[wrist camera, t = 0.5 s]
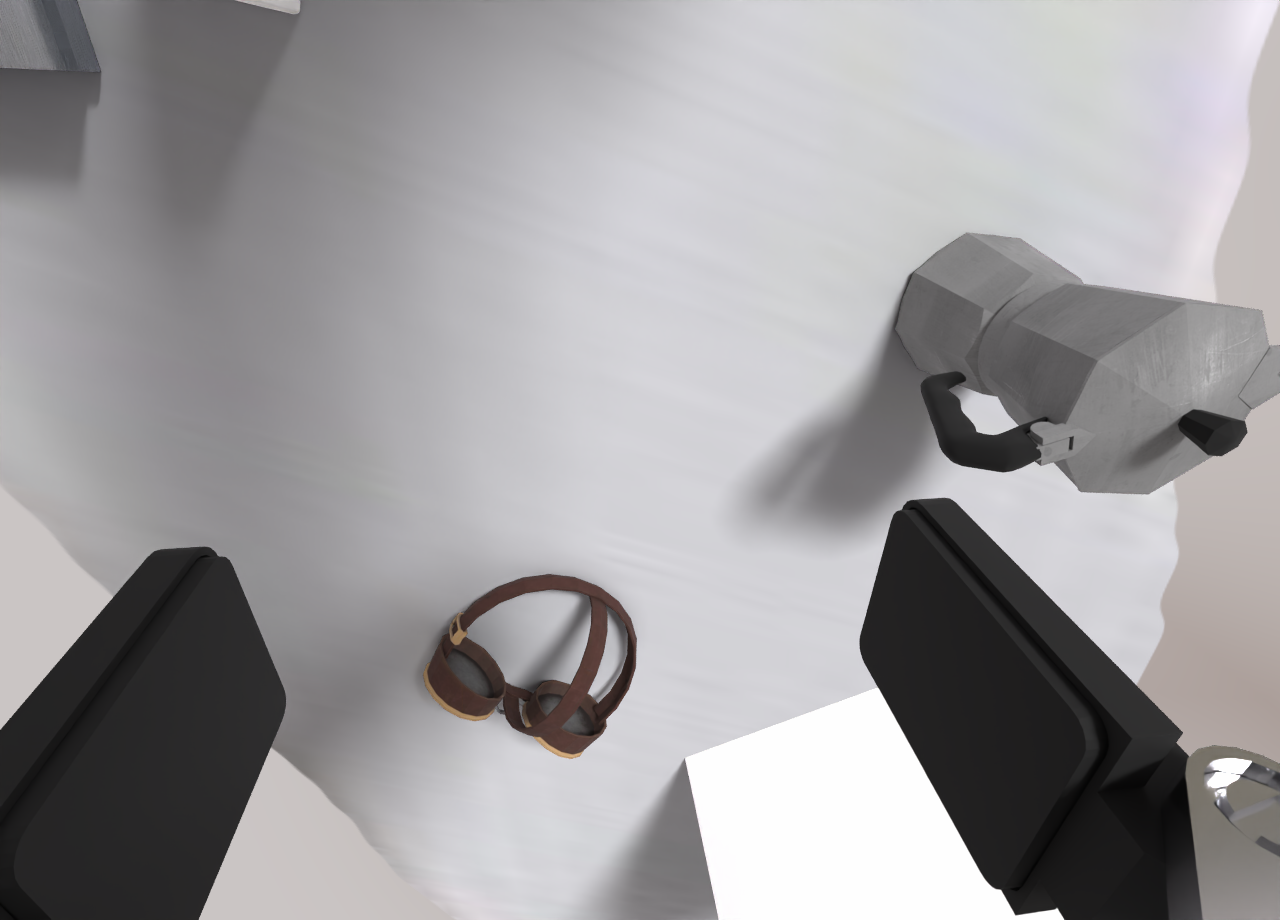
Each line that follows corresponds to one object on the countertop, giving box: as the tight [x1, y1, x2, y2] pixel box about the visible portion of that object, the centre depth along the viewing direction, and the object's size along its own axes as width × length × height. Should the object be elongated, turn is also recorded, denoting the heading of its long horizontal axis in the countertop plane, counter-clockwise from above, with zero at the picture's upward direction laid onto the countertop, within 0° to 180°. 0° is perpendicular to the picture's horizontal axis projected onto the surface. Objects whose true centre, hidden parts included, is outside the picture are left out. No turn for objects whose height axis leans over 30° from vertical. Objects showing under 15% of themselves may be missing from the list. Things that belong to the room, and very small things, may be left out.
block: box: [685, 688, 1064, 920], centre depth 48 cm, size 35×8×28 cm, turn 112°
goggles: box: [423, 574, 637, 759], centre depth 46 cm, size 15×13×10 cm
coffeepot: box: [895, 233, 1280, 494], centre depth 32 cm, size 15×9×18 cm, turn 106°
